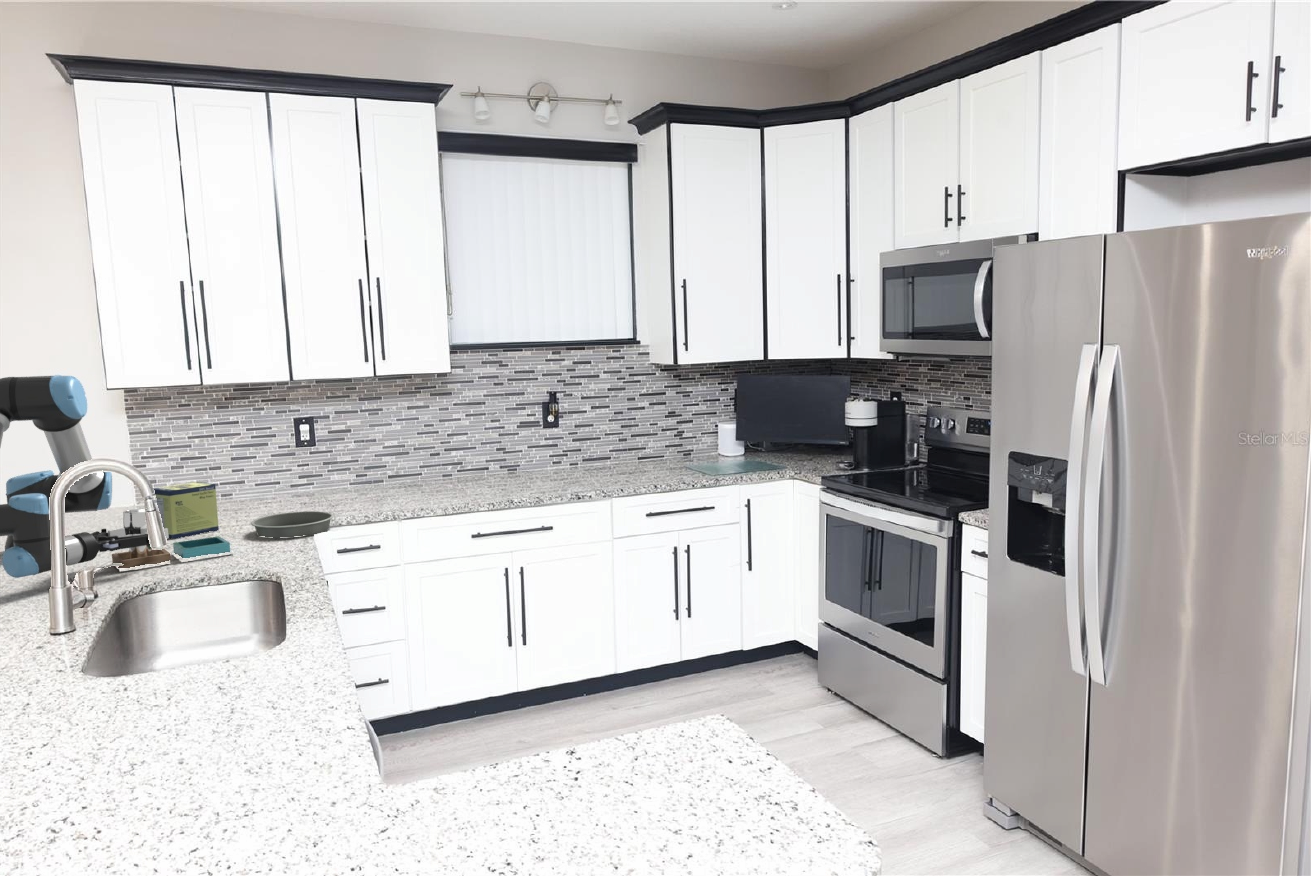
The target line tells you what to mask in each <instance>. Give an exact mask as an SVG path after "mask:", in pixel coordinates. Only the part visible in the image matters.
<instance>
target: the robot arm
mask: <svg viewBox="0 0 1311 876" xmlns="http://www.w3.org/2000/svg"><path fill="white" fill-rule="evenodd" d="M87 413H88V399H87V396H86V391H85V388H84V386H83V384H82V383H81V381H80V380H79V379H78V377H75V376H72V375H60V374H55V375H37V376H36V375H35V376H6V377H2V378H0V448H1V446H2V441H3V437H4V433H5V432H6V431H7V430H9V428H10V425H11V423H12V422H15V421H17V422H21V421H22V422H23V421H25V422H26V421H32V423H33V425H34V426H35V427H36V428H37V429H38V430H40V431H42V432H44V435H45V438H46V441H47V443H48V446H49V447H50V450H51V451H50V452H51V453H52V455H53V458H54V461H55V463H56V467H57V469H58V470H59V473H58V474H55V472H54V471H53V470H41V471H36V472H30V473H25V474H21V475H15V476H14V477H9V479H7V481H6V483H5V490H6V491H5V492H6V493H5V496H6V502H7V503H4V504H2V503H1V504H0V537H6V536H7V538H6V541H5V544H4V552H3V554H2V556H3V557H2V558H1V564H2V567H3V570H4V571H5V573H6V574H7V575H8V576H10V577H12V578H15V579H16V578H17V579H18V578H24V577H28V576H37V575H39V574H41V573H45V572H49V571H52V570H51V550H50V520H49V497H50V493H51V489H52V487H53V485H54V484H55V482H56V480H57V479H58V478H59V477H60V476H61V474H62V473H63V472H65V471H66V470H68V469H69V468H70V467H74V465H76V464H78V463H80V462H84V461H88V460H91V459H92V460H93V456H92V454H91V451H90V449H89V446H88V443H87V441H86V440H87V439H86V437H85V435H84V431H83V428H82V424H81V421H82V420H83V418H84V417H85V416H87ZM112 498H113V475H112V472H110V471H107V472H104V471H103V472H97V473H93V474H89V475H88V476H84V477H83V478H81V479H79V481H76V482H75V483H74V485H72V486H71V487H70V490H68V493H67V494H66V497H65V513H64V514H69V513H83V512H84V513H86V512H97V511H102V510H107V509H109V508H110V506H111V505H112ZM164 532H165V536H166V538H167V539H168V538H169V535H168V528H165V529H164ZM145 545H147V547H148V546H150V544H149V540H148V533H145V534H144V535H135V536H125V534H124V527H123V526H122V527H118V528H115V529H111V530H107V528H101V529H100V531H99V530H97V531H95V532H91V533H90V532H88V531H84V532H80V533H79V532H78V533H75V534H74V533H73V534H71V535H69V534H68V535H65V547H66V548H65V549H66V565H67V567H69V566H74V565H76V564H77V565H78V564H81V563H86V562H90V561H93V560H94V559H96V557H97V555H98V553H104V552H108V551H109V552H114V551H118V550H123V549H129V548H132V547H138V546H145Z"/></svg>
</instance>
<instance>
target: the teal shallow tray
mask: <svg viewBox="0 0 1311 876" xmlns="http://www.w3.org/2000/svg"><path fill="white" fill-rule="evenodd" d="M172 547H173V553H175V554H178V555H179V556H181V557H182V558H190V557H196V556H201V555H208V554H219V553H225V552H230V551H231V545H230V542H229V541H228V540H226V539H225V538H222V537H221V536H220V535H219V536H218V535H217V536H211V537H204V538H197V539H191V540H190V539H189V540H184V541H183V540H182V541H177V542H176V541H175V542H172Z"/></svg>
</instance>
